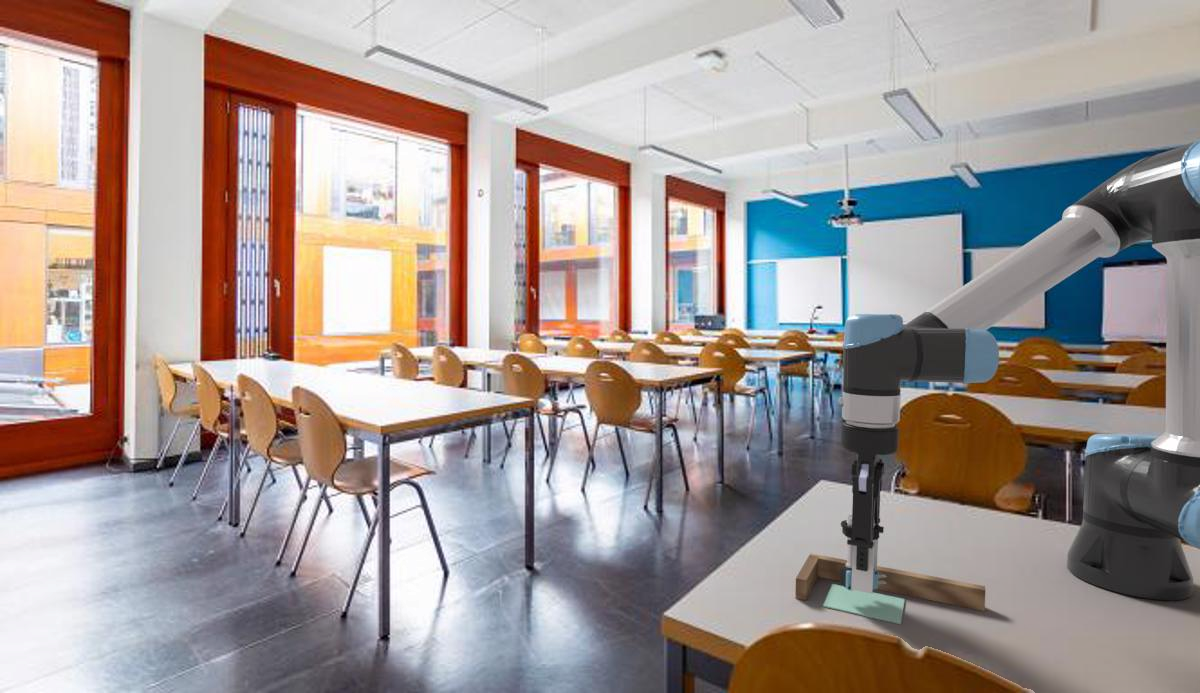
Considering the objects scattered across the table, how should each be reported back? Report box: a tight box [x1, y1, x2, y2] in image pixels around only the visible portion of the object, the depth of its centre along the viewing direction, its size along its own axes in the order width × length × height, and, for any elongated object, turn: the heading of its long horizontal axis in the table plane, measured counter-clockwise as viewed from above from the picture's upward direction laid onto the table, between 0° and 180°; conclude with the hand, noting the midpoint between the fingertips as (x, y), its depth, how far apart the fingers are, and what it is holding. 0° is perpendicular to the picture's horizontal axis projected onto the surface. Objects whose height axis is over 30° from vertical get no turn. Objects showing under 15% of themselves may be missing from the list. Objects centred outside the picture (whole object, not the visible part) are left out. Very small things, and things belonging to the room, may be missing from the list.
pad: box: [822, 583, 906, 625], centre depth 90 cm, size 10×8×1 cm
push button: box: [839, 514, 887, 590], centre depth 90 cm, size 7×5×10 cm
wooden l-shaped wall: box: [794, 553, 986, 612], centre depth 90 cm, size 24×11×3 cm, turn 61°
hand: (864, 582), depth 89 cm, fingers closed on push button, 5 cm apart
